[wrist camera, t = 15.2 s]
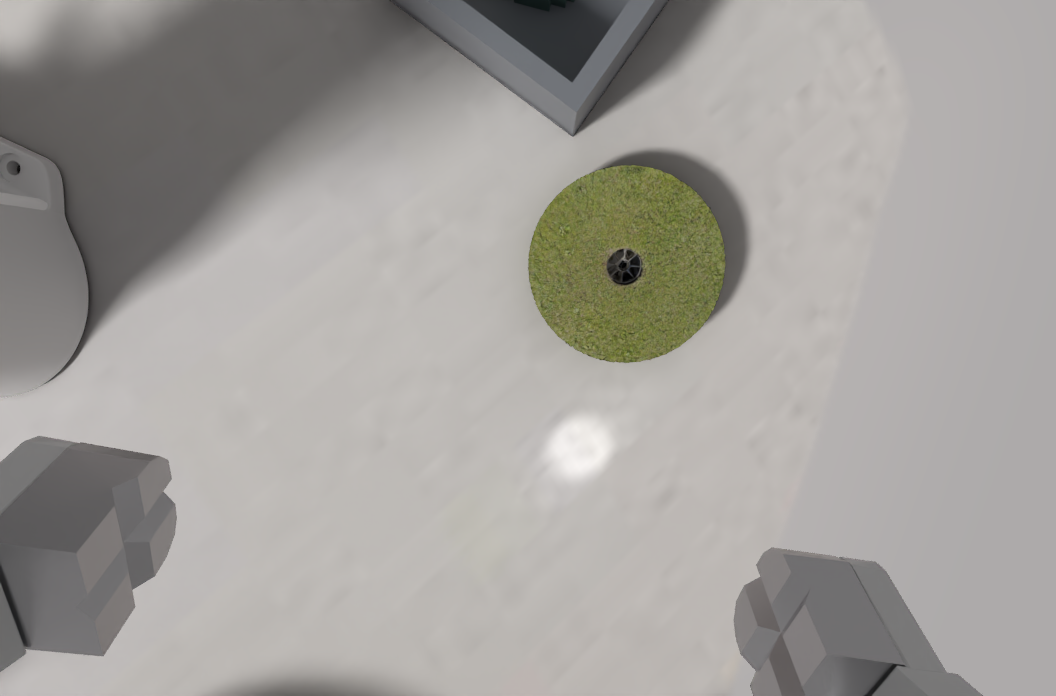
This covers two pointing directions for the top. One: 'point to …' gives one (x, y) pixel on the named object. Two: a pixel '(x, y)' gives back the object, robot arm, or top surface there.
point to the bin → (543, 46)
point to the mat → (626, 263)
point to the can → (543, 3)
